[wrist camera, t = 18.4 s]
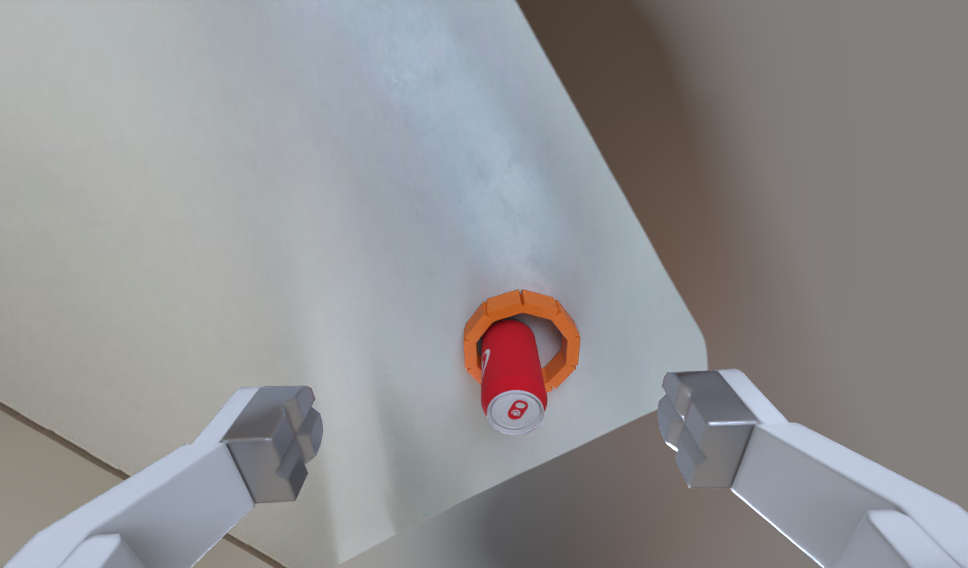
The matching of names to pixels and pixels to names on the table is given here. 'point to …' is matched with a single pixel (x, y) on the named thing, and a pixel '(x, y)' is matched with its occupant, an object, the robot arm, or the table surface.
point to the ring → (530, 305)
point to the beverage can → (512, 378)
